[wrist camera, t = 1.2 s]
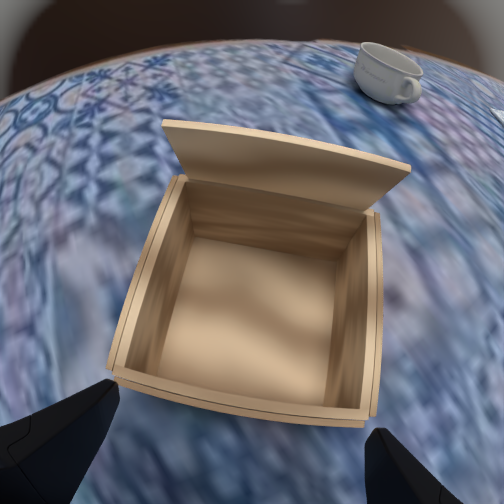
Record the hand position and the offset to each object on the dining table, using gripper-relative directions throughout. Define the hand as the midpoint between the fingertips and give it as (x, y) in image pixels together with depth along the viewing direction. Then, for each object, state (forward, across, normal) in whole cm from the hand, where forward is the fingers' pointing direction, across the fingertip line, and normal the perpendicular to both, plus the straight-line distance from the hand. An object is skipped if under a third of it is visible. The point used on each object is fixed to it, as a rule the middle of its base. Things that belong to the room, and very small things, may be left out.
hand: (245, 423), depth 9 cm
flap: (+11, 0, -8) cm, 13 cm away
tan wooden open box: (+15, 0, +4) cm, 16 cm away
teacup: (+43, -14, -23) cm, 51 cm away
